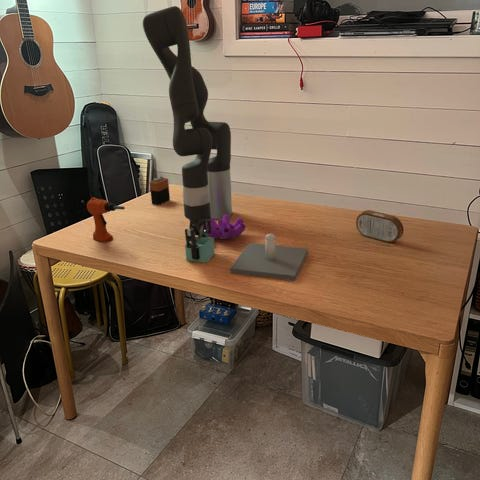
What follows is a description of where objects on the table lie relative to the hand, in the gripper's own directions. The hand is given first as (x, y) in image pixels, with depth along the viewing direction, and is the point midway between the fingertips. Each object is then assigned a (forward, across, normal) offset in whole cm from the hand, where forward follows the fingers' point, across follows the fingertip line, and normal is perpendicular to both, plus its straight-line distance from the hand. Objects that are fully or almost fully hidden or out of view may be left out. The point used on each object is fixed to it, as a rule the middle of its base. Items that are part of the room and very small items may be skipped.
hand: (200, 254), depth 143 cm
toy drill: (+1, -4, -33) cm, 33 cm away
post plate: (+1, -1, +21) cm, 21 cm away
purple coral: (+1, -16, +2) cm, 16 cm away
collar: (+1, 0, 0) cm, 1 cm away
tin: (+1, -26, +49) cm, 55 cm away
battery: (+1, -44, -35) cm, 56 cm away
